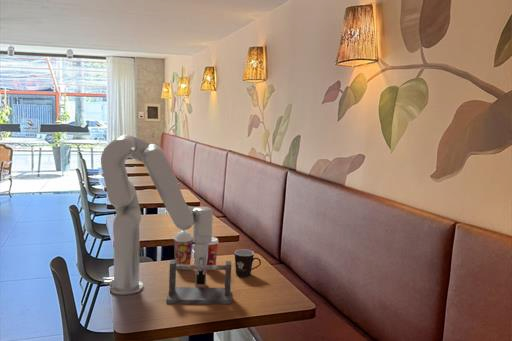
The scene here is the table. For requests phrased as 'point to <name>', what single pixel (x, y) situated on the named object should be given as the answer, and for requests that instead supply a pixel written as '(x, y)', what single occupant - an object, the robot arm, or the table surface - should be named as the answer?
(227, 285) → the rack
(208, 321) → the table surface
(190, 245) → the smoothie
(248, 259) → the coffee mug
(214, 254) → the paper cup
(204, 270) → the open topped box
